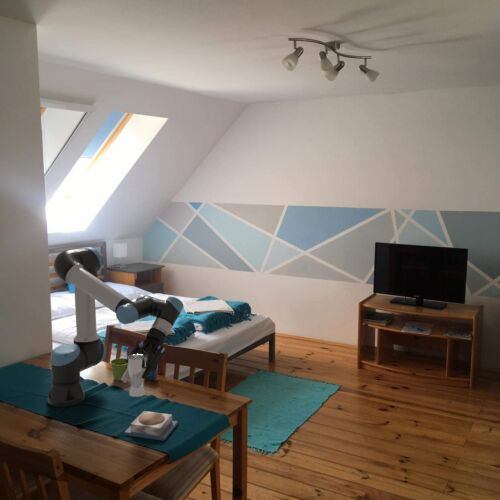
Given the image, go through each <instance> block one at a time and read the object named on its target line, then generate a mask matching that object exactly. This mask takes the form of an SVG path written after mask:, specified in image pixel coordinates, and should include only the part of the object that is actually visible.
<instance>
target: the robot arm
mask: <svg viewBox="0 0 500 500" xmlns="http://www.w3.org/2000/svg"><path fill="white" fill-rule="evenodd" d="M102 267H103V257H102V256H101V254H100V252H99V251H98V250H97V249H96V248H94V247H91V246H90V247H89V246H86V247H85V246H83V247H78V248H74V249H73V248H72V249H66V250H63V251H61V252H60V253H59V254H57V256H56V257H55V259H54V261H53V268H54V271H55V273H56V275H57V276H58V277H59V278H60V279H61V280H62V281H63V282H65V283H66V284H68V285H74V286H73V289H74V304H75V305H74V307H75V325H76V327H75V328H76V335H75V336H74V337H73V343H66V344H61V345H58V346H57V347H55V348H53V349H52V351H51V354H50V369H51V371H50V374H51V375H50V376H51V385H50V388H49V392H48V395H47V403H48V405H50V406H51V407H55V408H57V407H58V408H68V407H74V406H77V405H78V404H81V403H82V402H84V400H85V395H86V394H85V390H84V388H83V386H82V383H81V372H83V371H85V370H87V369H90V368H92V367H95V366H97V365H98V364H100V363H101V362H103V361H104V359H105V358H106V354H107V346H106V344H105V343H104V341H103V339H102V338H101V335H100V334H98V331H97V315H96V313H97V311H96V301H97V302H98V303H99V304H102V305H103V306H104V307H106V308H107V309H109V310H110V311H111V312H113V313H114V314H115V317H116V319H117V321H118V323H120V324H122V325H128V324H133V323H135V322H138V321H139V320H142V319H145V318H148V317H150V316H151V317H154V318H155V319H154V322H153V323H152V325H151V328H149V330H148V331H147V333H146V338H145V339H144V340H143V341H140V340H137V341H136V344H135V346H134V348H133V349H132V350H131V352H130V353H129V355H128V356H130V355H133V354H142V355H148V356H147V358H148V359H147V358H146V360H147V364H146V367H144V368H145V369H146V370H145V369H144V368H143V370H142V372H141V373H140V375H139V377H138V379H137V381H136V382H135V384H136V385H137V386H138V387H140V386H141V384H142V383H143V381H144V382H145V380H144V379H146V378H147V376H148V374H149V372H151V371H153V372H154V371H155V370H156V368H157V366H158V367H159V363H160V361H161V359H162V357H163V355H164V353H165V352H166V348H165V347H164V346H163V345H164V343H165V342H166V339H167V338H168V337H167V336H168V335H169V334H170V332H171V331H172V329H173V327H174V324H175V323H176V321H177V319H178V318H179V316H180V315H181V312H182V310H183V308H184V303H183V301H181V299H179V298H177V297H176V296H168V297H167V298H166V300H163V299H160V298H158V297H157V298H156V297H154V296H152V295H146V294H140V295H139V296H138V297H136V299H135V301H133V300H131V299H129V298H128V297H126V296H124V295H123V294H121V292H119V291H118V290H115V289H114V288H113V287H112V286H110V285H108V284H107V283H105V281H102V280H101V279H99V278H98V272H99V271H100V270H101V268H102ZM126 362H127V363H128V357H127V358H126ZM124 372H125V373H124V375H123V376H122V378H121V380H122V382H123V383H125V384H126V383H127V382H128V380H129V377H128V370H127V367H126V369H125V371H124ZM121 380H120V381H121Z"/></svg>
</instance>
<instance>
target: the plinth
mask: <svg viewBox="0 0 500 500" xmlns="http://www.w3.org/2000/svg"><path fill="white" fill-rule="evenodd" d="M172 421H173V414H170V413H161V412H155V411H147V410H143V411H142V412H141V413H140V414H139V415H138V416H137V417H136V418H135V419H134V420H133V421H132V422H131V423H130V426H131V432H137V433H145V434H152V435H159V436H160V435H161V434H162V433H163V432H164V431H165V430H166V428H167V427H168V426H169V425H170V424H171V422H172Z"/></svg>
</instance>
